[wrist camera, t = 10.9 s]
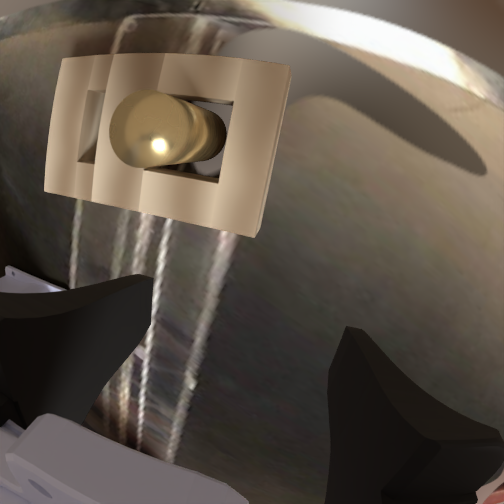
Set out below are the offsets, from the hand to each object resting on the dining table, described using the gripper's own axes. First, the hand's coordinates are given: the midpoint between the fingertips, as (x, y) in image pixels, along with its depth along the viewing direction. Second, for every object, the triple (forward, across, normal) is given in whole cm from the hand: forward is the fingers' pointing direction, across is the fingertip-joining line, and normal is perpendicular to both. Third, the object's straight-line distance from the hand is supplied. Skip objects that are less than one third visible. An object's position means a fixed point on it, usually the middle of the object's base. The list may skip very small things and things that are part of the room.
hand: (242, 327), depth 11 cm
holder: (+10, +9, -6) cm, 15 cm away
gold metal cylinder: (+10, +6, -6) cm, 13 cm away
